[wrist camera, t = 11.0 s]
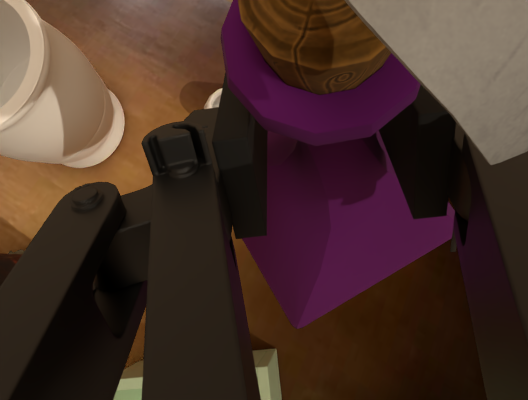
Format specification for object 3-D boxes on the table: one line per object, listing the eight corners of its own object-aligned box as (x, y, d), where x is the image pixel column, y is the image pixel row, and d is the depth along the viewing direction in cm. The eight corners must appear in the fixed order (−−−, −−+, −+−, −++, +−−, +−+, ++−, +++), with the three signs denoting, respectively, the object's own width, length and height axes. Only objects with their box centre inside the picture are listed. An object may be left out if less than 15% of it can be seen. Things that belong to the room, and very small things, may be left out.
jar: (11, 127, 45) (-139, 61, 30) (86, 51, 45) (-27, -51, 31) (81, 202, 43) (-42, 171, 29) (159, 123, 43) (77, 50, 29)
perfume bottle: (212, 180, 22) (-133, -244, 4) (349, 100, 22) (581, -625, 4) (294, 323, 21) (308, 604, 3) (439, 237, 21) (1295, -8, 3)
